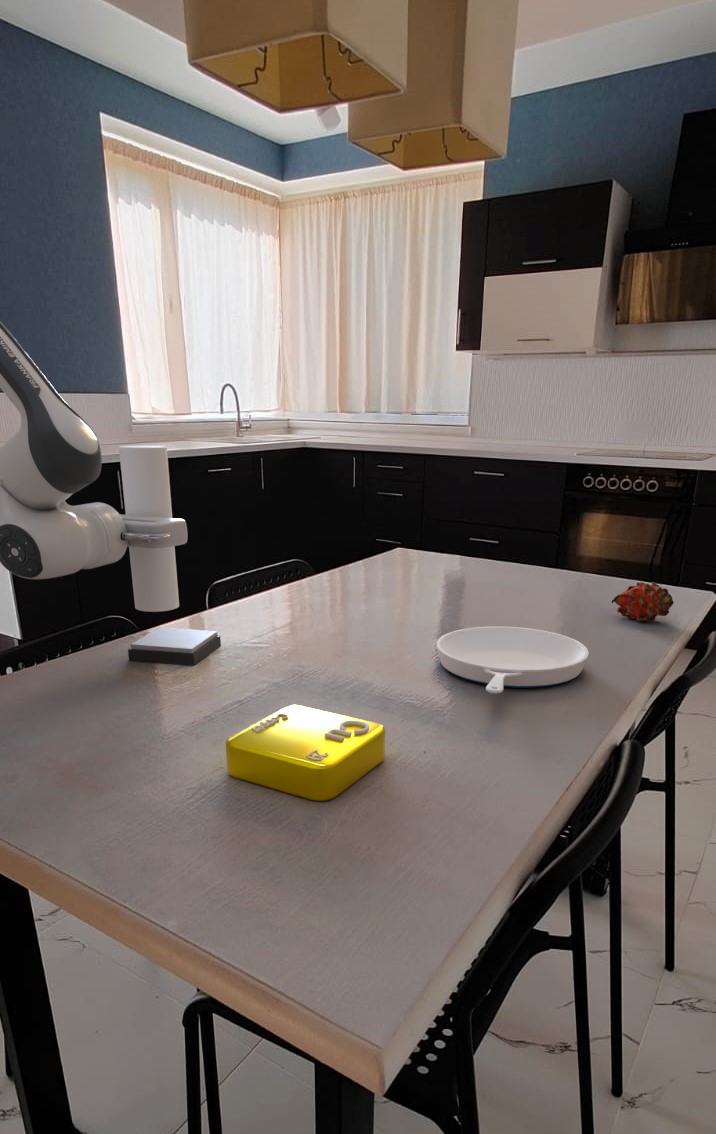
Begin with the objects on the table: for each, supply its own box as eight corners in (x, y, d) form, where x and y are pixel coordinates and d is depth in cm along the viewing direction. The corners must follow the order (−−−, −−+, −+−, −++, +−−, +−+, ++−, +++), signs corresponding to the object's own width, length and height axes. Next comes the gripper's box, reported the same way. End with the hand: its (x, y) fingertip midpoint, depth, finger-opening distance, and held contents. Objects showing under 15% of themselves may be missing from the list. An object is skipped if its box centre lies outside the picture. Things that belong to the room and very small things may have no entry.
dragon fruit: (673, 631, 157) (612, 633, 162) (674, 600, 161) (614, 602, 166) (673, 603, 150) (609, 606, 155) (674, 571, 154) (612, 575, 159)
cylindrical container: (173, 600, 133) (161, 445, 123) (183, 609, 127) (171, 447, 117) (131, 603, 130) (115, 445, 120) (139, 613, 124) (123, 448, 114)
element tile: (292, 732, 103) (291, 698, 101) (390, 756, 96) (391, 721, 94) (220, 774, 91) (217, 737, 90) (326, 805, 84) (326, 766, 83)
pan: (587, 652, 138) (590, 627, 136) (583, 731, 104) (587, 700, 103) (449, 640, 144) (450, 616, 142) (403, 711, 111) (404, 681, 109)
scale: (128, 660, 131) (126, 644, 130) (159, 641, 142) (158, 626, 141) (194, 665, 129) (193, 649, 128) (221, 645, 140) (220, 630, 139)
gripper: (154, 516, 107) (207, 506, 119) (38, 508, 114) (99, 499, 126) (158, 562, 110) (209, 547, 121) (44, 551, 116) (103, 538, 128)
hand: (152, 522), depth 124 cm, fingers closed on cylindrical container, 7 cm apart
